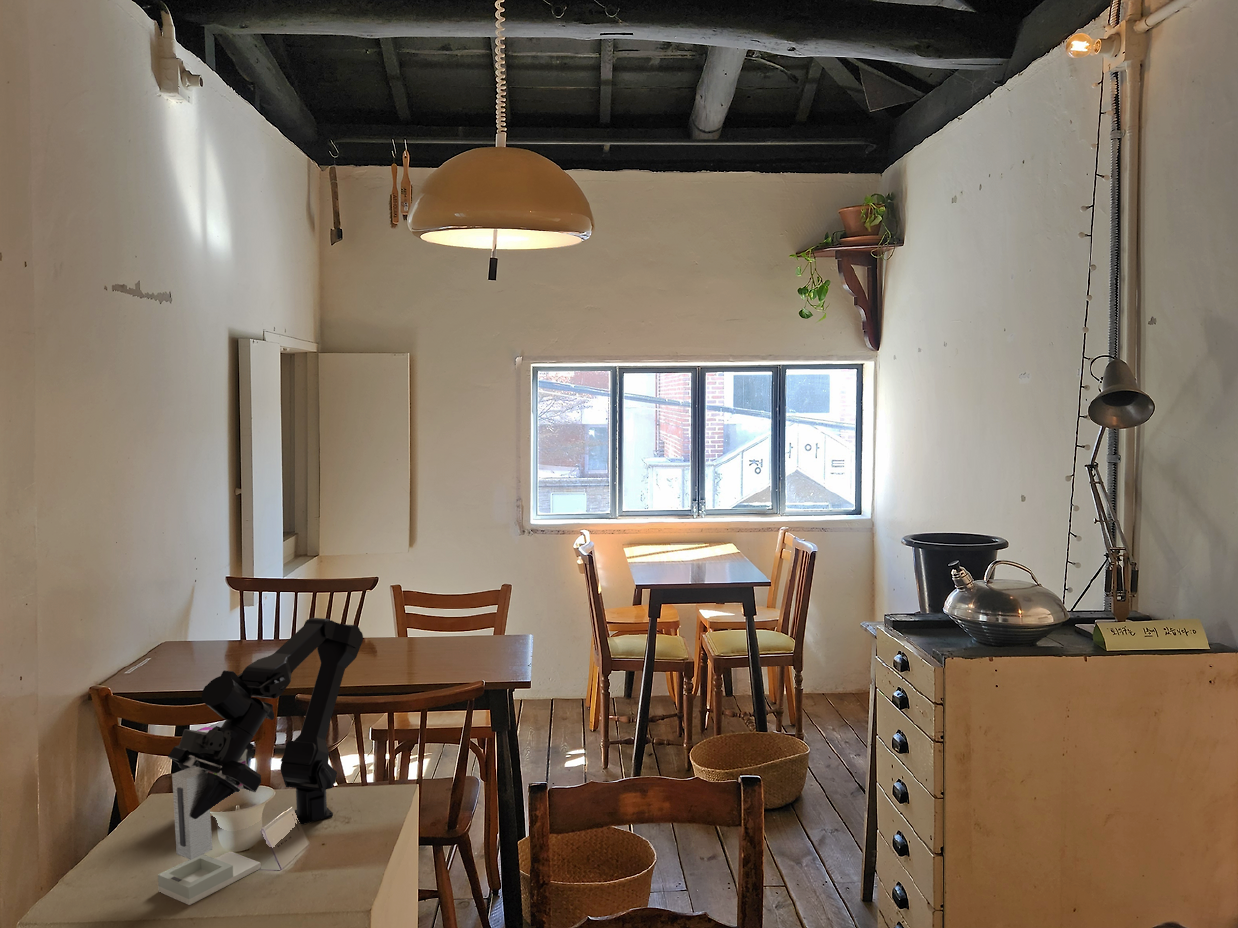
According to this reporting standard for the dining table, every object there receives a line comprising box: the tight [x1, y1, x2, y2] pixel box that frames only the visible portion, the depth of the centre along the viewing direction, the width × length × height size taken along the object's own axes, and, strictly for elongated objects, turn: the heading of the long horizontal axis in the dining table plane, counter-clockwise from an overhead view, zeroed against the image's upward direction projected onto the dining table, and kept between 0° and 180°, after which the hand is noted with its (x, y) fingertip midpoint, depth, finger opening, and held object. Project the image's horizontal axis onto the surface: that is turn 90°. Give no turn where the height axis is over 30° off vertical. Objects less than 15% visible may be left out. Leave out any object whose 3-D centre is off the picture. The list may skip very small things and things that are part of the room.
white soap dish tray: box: [157, 850, 262, 906], centre depth 164 cm, size 14×8×3 cm, turn 149°
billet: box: [171, 766, 213, 860], centre depth 161 cm, size 4×4×14 cm
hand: (185, 814), depth 159 cm, fingers closed on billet, 4 cm apart
